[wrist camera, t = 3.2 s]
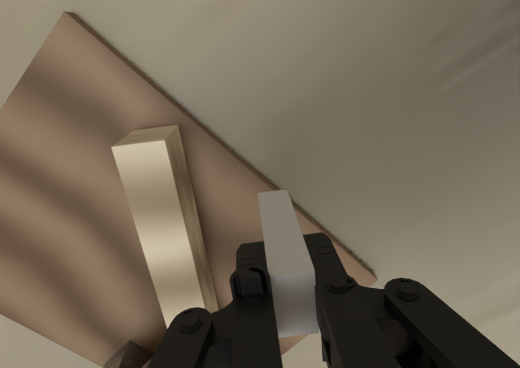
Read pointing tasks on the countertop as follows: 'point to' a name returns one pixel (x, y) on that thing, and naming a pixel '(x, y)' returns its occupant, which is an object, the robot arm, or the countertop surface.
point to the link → (166, 218)
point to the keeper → (130, 357)
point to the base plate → (107, 199)
